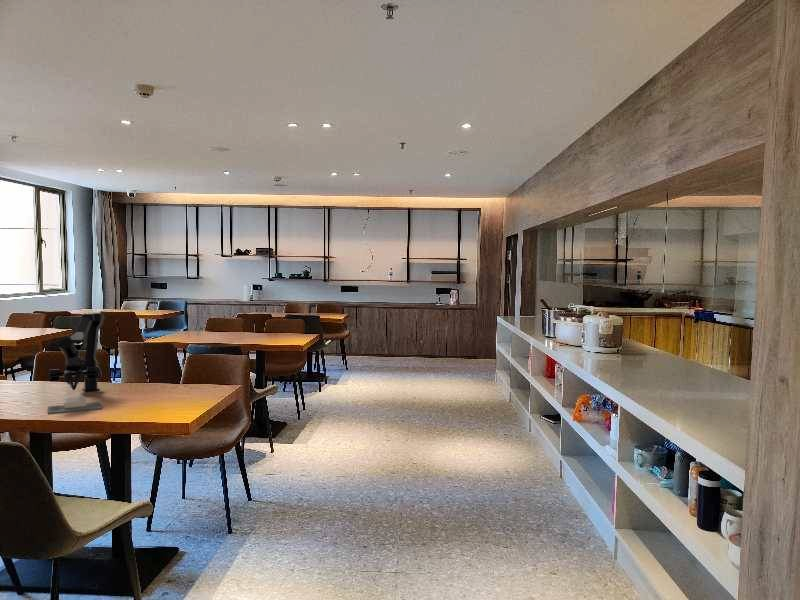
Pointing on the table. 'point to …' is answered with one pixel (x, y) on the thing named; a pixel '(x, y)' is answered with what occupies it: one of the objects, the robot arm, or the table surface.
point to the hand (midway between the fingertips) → (73, 389)
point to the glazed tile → (74, 402)
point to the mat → (62, 410)
